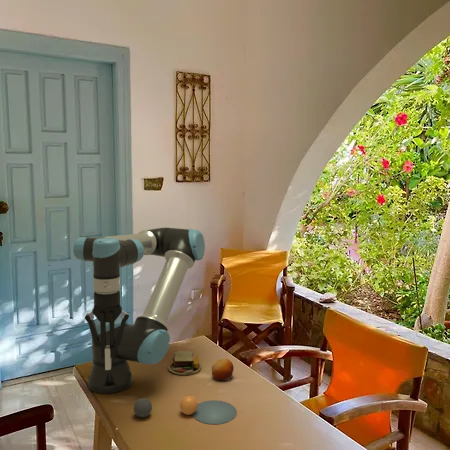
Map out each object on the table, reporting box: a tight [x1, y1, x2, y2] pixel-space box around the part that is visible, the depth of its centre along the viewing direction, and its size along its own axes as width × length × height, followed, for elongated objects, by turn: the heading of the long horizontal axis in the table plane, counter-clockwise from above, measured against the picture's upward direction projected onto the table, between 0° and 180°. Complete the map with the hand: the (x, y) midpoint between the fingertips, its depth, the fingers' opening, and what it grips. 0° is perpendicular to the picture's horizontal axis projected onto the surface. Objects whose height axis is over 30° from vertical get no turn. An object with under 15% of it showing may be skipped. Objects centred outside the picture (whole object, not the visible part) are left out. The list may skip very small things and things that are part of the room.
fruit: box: [211, 358, 235, 382], centre depth 169 cm, size 8×8×8 cm
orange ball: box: [179, 395, 199, 416], centre depth 144 cm, size 6×6×6 cm
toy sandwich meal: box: [167, 350, 202, 376], centre depth 177 cm, size 12×14×5 cm
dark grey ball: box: [133, 397, 153, 418], centre depth 142 cm, size 6×6×6 cm
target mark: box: [191, 399, 238, 425], centre depth 145 cm, size 14×14×1 cm
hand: (108, 367), depth 139 cm, fingers closed
